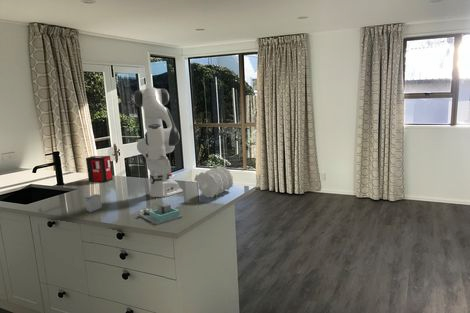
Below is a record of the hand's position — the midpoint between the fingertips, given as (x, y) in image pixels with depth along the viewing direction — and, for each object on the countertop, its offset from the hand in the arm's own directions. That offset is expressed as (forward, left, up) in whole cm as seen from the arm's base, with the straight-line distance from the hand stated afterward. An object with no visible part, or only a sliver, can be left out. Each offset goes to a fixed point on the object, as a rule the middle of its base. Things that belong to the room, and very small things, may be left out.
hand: (160, 180), depth 195 cm
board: (+1, -2, -21) cm, 21 cm away
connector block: (0, +2, -20) cm, 20 cm away
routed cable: (+3, -8, -20) cm, 22 cm away
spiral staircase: (-47, -14, -21) cm, 54 cm away
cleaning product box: (-10, -124, -21) cm, 126 cm away
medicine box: (+22, -46, -21) cm, 55 cm away
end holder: (0, +2, -21) cm, 21 cm away
